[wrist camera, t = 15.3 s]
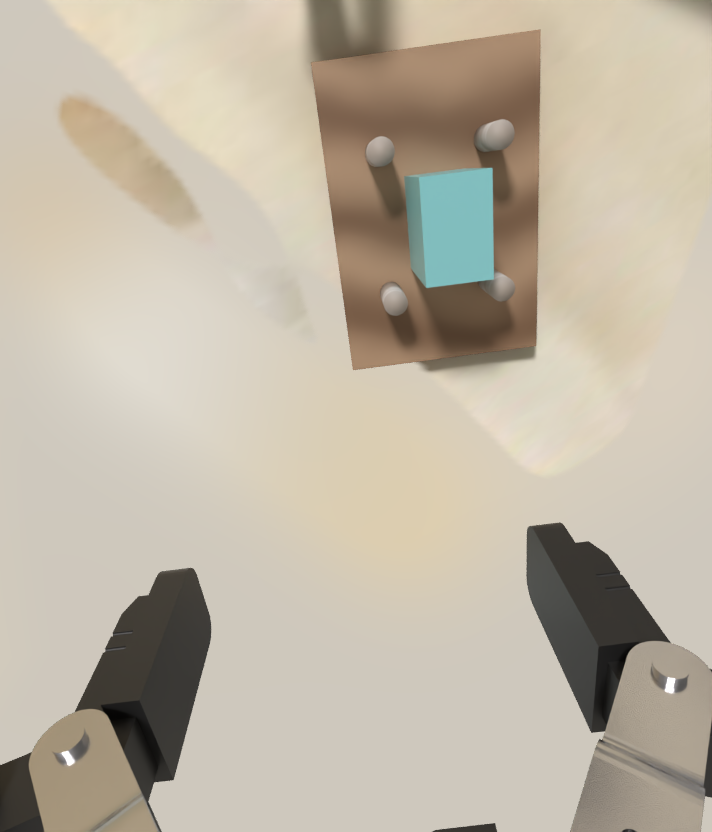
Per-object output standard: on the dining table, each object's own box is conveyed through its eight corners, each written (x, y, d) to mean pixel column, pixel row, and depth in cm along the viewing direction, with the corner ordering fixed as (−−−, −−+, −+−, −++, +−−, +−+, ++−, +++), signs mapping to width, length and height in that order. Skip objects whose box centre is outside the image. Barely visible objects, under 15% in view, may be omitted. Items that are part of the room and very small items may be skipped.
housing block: (404, 176, 36) (419, 177, 29) (464, 168, 36) (492, 167, 29) (410, 268, 38) (426, 288, 32) (467, 261, 38) (493, 279, 32)
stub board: (312, 66, 34) (308, 50, 30) (532, 35, 34) (562, 14, 29) (352, 363, 42) (354, 386, 38) (529, 340, 42) (553, 360, 38)
